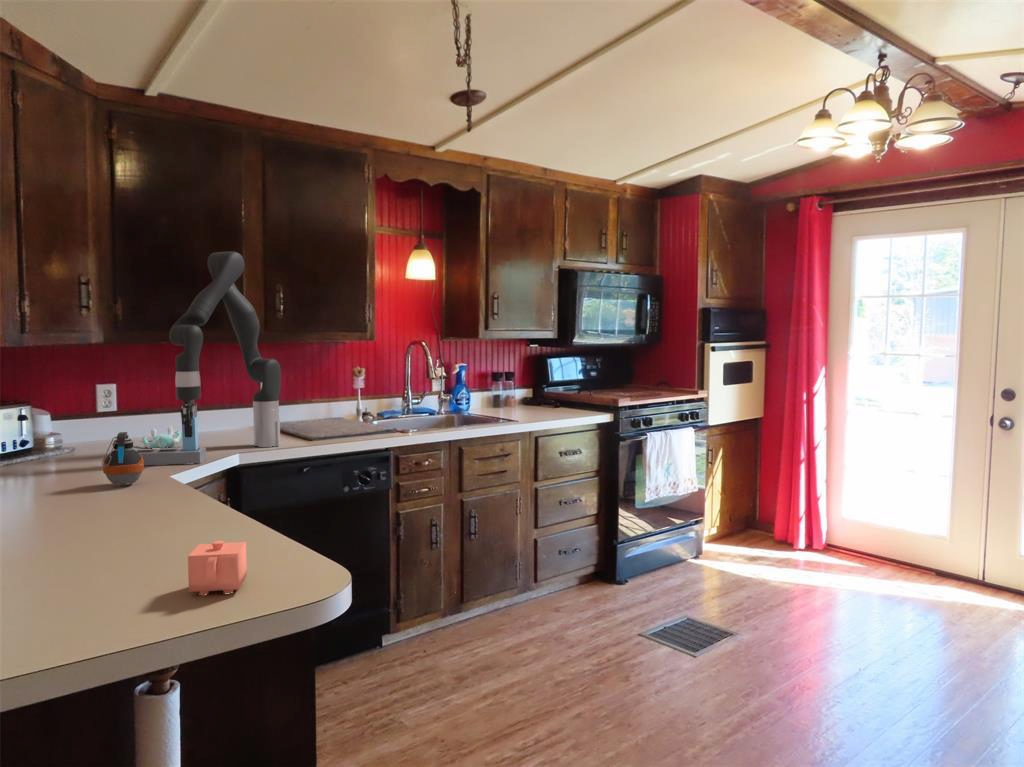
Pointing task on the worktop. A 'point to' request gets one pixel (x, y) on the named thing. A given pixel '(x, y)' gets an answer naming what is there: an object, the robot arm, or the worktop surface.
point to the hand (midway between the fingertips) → (190, 435)
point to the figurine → (162, 439)
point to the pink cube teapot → (217, 567)
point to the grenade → (123, 462)
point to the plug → (191, 442)
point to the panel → (172, 456)
